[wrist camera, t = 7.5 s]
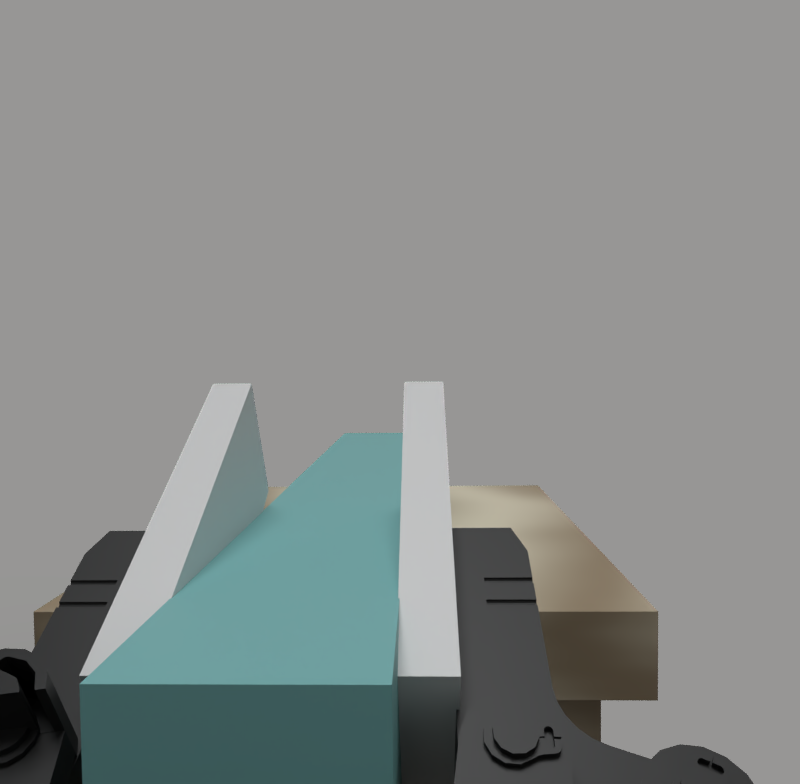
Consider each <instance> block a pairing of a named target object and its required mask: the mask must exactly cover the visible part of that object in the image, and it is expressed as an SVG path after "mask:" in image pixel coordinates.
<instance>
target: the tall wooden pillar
mask: <svg viewBox="0 0 800 784" xmlns="http://www.w3.org/2000/svg"><path fill="white" fill-rule="evenodd" d="M449 487H450V503H451V520H452V528H511V529H512V530H513V532H514V533H515V534H516V536H517V537H518V538H519V540H520V541H521V542H522V544H523V545H524V546H525V548H526V549H527V551H528V555H529V561H530V566H531V572H532V577H533V578H532V580H533V583H534V588H535V594H536V599H537V600H536V602H537V605H538V610H539V616H540V621H541V627H542V632H543V638H544V643H545V649H546V654H547V660H548V665H549V671H550V676H551V681H552V687H553V690H554V693H555V696H556V700H557V702H558V704H559V705H560V707H561V709H562V710H563V712H564V714H565V715H566V716H567V717H568V718H569V719H570V720H571V721H572V723H573V724H574V725H575V726H576V727H577V728H578V729H580V730H581V731H583V732H584V733H586V734H587V735H589V736H590V737H591V738H593V739H595V740H597V741H600V742H601V700H658V611H657V610H656V609H655V608H654V607H653V606H652V605H651V604H650V603H649V602H648V601H647V599H646V598H645V597H644V596H643V595H642V594H641V593H640V592H639V591H638V590H637V589H636V588H635V587H634V586H633V585H632V584H631V583H630V582H629V581H628V580H627V578H625V576H624V575H623V574H622V573H621V572H620V571H619V570H618V569H617V568H616V567H615V566H614V565H613V564H612V563H611V562H610V561H609V560H608V559H607V558H606V556H605V555H604V554H603V553H602V552H601V551H600V550H599V549H598V548H597V547H596V546H595V545H594V544H593V543H592V542H591V541H590V540H589V539H588V538H587V537H586V536H585V535H584V533H583V532H582V531H581V530H580V529H579V528H578V527H577V526H576V525H575V524H574V523H573V522H572V521H571V520H570V519H569V518H568V517H567V516H566V515H565V513H564V512H563V511H562V510H561V509H560V508H559V507H558V506H557V505H556V504H555V503H554V502H553V501H552V500H551V499H550V498H549V497H548V496H547V495H546V494H545V493H544V491H543V490H542V489H541V488H540V487H538V486H449ZM287 488H288V487H268V490H269V491H268V495H267V498H266V502H265V506H264V509H265V508H266V507H267V506H269V505H270V504H271V503H272V502H273V501H274V500H275V499H276V498H277V497H278V496H279V495H280V494H281V493H282V492H283V491H284V490H285V489H287ZM264 509H263V510H264ZM63 594H64V593H62V594H61V595H59V596H58V597H56V598H54V599H53V600H51V601H50V602H48V603H47V604H45V605H44V606H42V607H41V608H39V609H37V610H36V611H34V635H35V646H36V644H37V642H38V640H39V638H40V636H41V634H42V633H43V631H44V629H45V627H46V625H47V623H48V622H49V620H50V618H51V616H52V614H53V612H54V610H55V609H56V607H59V601H60V599H61V598H62V596H63Z"/></svg>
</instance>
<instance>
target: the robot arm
mask: <svg viewBox="0 0 800 784" xmlns="http://www.w3.org/2000/svg"><path fill="white" fill-rule="evenodd" d="M445 421H446V420H445V404H444V387H443V382H404V411H403V445H402V481H401V516H400V551H399V587H398V598H400V599H399V638H398V700H399V725H400V750H401V775H402V784H753V782H752V781H751V779H750V778H749V777H748V775H747V774H746V773H745V772H743V771H742V770H741V769H740V768H739V767H737V766H736V765H735V764H734V763H732V762H731V761H730V760H729V759H728V758H726V757H724V756H722V755H720V754H718V753H715V752H713V751H711V750H709V749H706V748H704V747H699V746H690V745H676V746H673V747H670V748H666V749H663V750H660V751H659V752H658V753H657V754H656V755H655V756H654V757H653V758H652V759H649V758H646V757H642V756H639V755H636V754H633V753H630V752H627V751H624V750H621V749H618V748H615V747H612V746H609V745H607V744H604V743H602V742H600V741H597V740H595V739H593V738H591V737H590V736H589V735H587V734H586V733H584V732H583V731H581V730H580V729H578V728H577V727H576V726H575V725H574V724H573V723H572V721H571V720H570V719H569V718H568V717H567V716H566V715H565V714H564V712H563V710H562V709H561V707H560V705H559V704H558V702H557V700H556V696H555V693H554V690H553V687H552V681H551V676H550V671H549V665H548V660H547V654H546V649H545V643H544V638H543V632H542V627H541V621H540V616H539V610H538V605H537V602H536V600H537V599H536V594H535V588H534V583H533V580H532V578H533V577H532V572H531V566H530V561H529V555H528V551H527V549H526V548H525V546H524V545H523V544H522V542H521V541H520V540H519V538H518V537H517V536H516V534H515V533H514V532H513V530H512V529H511V528H452V520H451V503H450V487H449V471H448V453H447V437H446V422H445ZM268 491H269V490H268V484H267V477H266V472H265V465H264V459H263V452H262V446H261V440H260V434H259V427H258V421H257V415H256V409H255V402H254V397H253V390H252V384H213V386H212V388H211V390H210V392H209V395H208V396H207V399H206V401H205V403H204V405H203V407H202V409H201V412H200V414H199V416H198V418H197V420H196V422H195V425H194V427H193V429H192V432H191V433H190V436H189V438H188V440H187V442H186V444H185V447H184V449H183V451H182V453H181V455H180V457H179V459H178V462H177V464H176V467H175V468H174V471H173V473H172V475H171V477H170V479H169V481H168V484H167V486H166V488H165V490H164V492H163V494H162V496H161V499H160V501H159V503H158V505H157V507H156V510H155V512H154V514H153V516H152V518H151V521H150V523H149V525H148V527H147V529H146V531H110V532H108V533H107V534H106V535H105V536H104V537H103V538H102V539H101V540H100V541H99V542H98V543H97V544H95V545H94V546H93V547H92V548H91V549H90V550H89V551H88V552H87V553H86V554H85V555H84V557H83V559H82V561H81V563H80V564H79V566H78V568H77V570H76V572H75V574H74V576H73V577H72V579H71V585H70V586H68V587H67V588H66V590H65V592H64V594H63V596H62V598H61V599H60V601H59V607H56V609H55V610H54V612H53V614H52V616H51V618H50V620H49V622H48V623H47V625H46V627H45V629H44V631H43V633H42V634H41V636H40V638H39V640H38V642H37V644H36V646H35V647H34V649H33V651H32V653H31V652H29V651H27V650H25V649H1V650H0V784H82V755H81V721H80V688H79V684H80V683H81V682H82V681H83V680H84V679H85V678H86V677H87V676H89V675H90V674H91V673H92V672H93V671H94V670H95V669H96V668H97V667H98V666H99V665H100V664H101V663H102V662H103V661H104V660H105V659H107V658H108V657H109V656H110V655H111V654H112V653H113V652H114V651H115V650H116V649H117V648H118V647H119V646H120V645H121V644H122V643H123V642H125V641H126V640H127V639H128V638H129V637H130V636H131V635H132V634H133V633H134V632H135V631H136V630H137V629H138V628H139V627H140V626H141V625H143V624H144V623H145V622H146V621H147V620H148V619H149V618H150V617H151V616H152V615H153V614H154V613H155V612H156V611H157V610H158V609H159V608H161V607H162V606H163V605H164V604H165V603H166V602H167V601H168V600H169V599H171V598H172V597H173V596H175V595H176V594H177V593H178V592H179V591H180V590H181V589H182V588H183V587H184V586H185V585H186V584H187V583H188V582H189V581H190V580H191V579H192V578H193V577H195V576H196V575H197V574H198V573H199V572H200V571H201V570H202V569H203V568H204V567H205V566H206V565H207V564H208V563H209V562H210V561H211V560H212V559H214V558H215V557H216V556H217V555H218V554H219V553H220V552H221V551H222V550H223V549H224V548H225V547H226V546H227V545H228V544H229V543H230V542H231V541H232V540H234V539H235V538H236V537H237V536H238V535H239V534H240V533H241V532H242V531H243V530H244V529H245V528H246V527H247V526H248V525H249V524H250V523H251V522H252V521H254V520H255V519H256V518H257V517H258V516H259V515H260V514H261V513H262V512H263V509H264V506H265V502H266V498H267V495H268Z"/></svg>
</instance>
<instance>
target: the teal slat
mask: <svg viewBox="0 0 800 784" xmlns="http://www.w3.org/2000/svg"><path fill="white" fill-rule="evenodd" d="M402 445H403V433H345V434H344V435H343V436H342V437H341V438H340V439H338V440H337V441H336V442H335V443H334V444H333V445H332V446H331V447H330V448H329V449H328V450H327V451H326V452H325V453H324V454H323V455H322V456H320V458H318V459H317V460H316V461H315V462H314V463H313V464H312V465H311V466H310V467H309V468H308V469H307V470H306V471H305V472H303V473H302V474H301V475H300V476H299V477H298V478H297V479H296V480H295V481H294V482H293V483H292V484H291V485H290V486H289V487H288V488H287V489H285V490H284V491H283V492H282V493H281V494H280V495H279V496H278V497H277V498H276V499H275V500H274V501H273V502H272V503H271V504H270V505H269V506H267V507H266V508H265V509H264V510H263V512H262V513H261V514H260V515H259V516H258V517H257V518H256V519H255V520H254V521H252V522H251V523H250V524H249V525H248V526H247V527H246V528H245V529H244V530H243V531H242V532H241V533H240V534H239V535H238V536H237V537H236V538H235V539H234V540H232V541H231V542H230V543H229V544H228V545H227V546H226V547H225V548H224V549H223V550H222V551H221V552H220V553H219V554H218V555H217V556H216V557H215V558H214V559H212V560H211V561H210V562H209V563H208V564H207V565H206V566H205V567H204V568H203V569H202V570H201V571H200V572H199V573H198V574H197V575H196V576H195V577H193V578H192V579H191V580H190V581H189V582H188V583H187V584H186V585H185V586H184V587H183V588H182V589H181V590H180V591H179V592H178V593H177V594H176V595H175V596H173V597H172V598H171V599H169V600H168V601H167V602H166V603H165V604H164V605H163V606H162V607H161V608H159V609H158V610H157V611H156V612H155V613H154V614H153V615H152V616H151V617H150V618H149V619H148V620H147V621H146V622H145V623H144V624H143V625H141V626H140V627H139V628H138V629H137V630H136V631H135V632H134V633H133V634H132V635H131V636H130V637H129V638H128V639H127V640H126V641H125V642H123V643H122V644H121V645H120V646H119V647H118V648H117V649H116V650H115V651H114V652H113V653H112V654H111V655H110V656H109V657H108V658H107V659H105V660H104V661H103V662H102V663H101V664H100V665H99V666H98V667H97V668H96V669H95V670H94V671H93V672H92V673H91V674H90V675H89V676H87V677H86V678H85V679H84V680H83V681H82V682H81V683H80V684H79V688H80V721H81V755H82V784H402V775H401V750H400V725H399V700H398V638H399V599H400V598H398V587H399V551H400V516H401V481H402Z"/></svg>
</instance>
